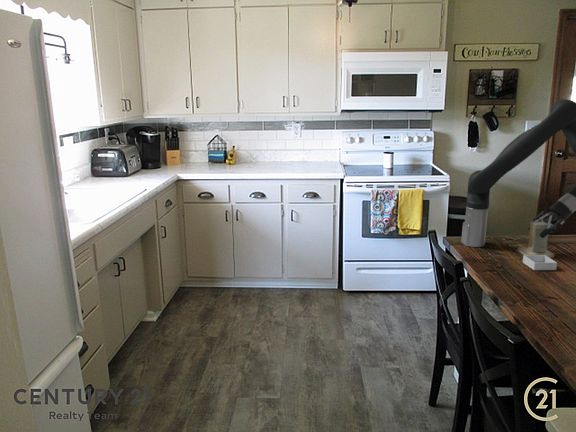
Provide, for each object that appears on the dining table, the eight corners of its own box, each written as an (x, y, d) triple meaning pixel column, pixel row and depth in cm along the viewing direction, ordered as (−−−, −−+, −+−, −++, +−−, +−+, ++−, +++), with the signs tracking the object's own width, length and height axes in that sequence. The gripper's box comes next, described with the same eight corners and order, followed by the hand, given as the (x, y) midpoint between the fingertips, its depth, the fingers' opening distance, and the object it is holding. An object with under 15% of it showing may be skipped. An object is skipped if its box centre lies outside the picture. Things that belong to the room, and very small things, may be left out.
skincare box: (541, 249, 209) (545, 221, 206) (546, 252, 205) (550, 224, 202) (526, 249, 209) (530, 221, 206) (531, 252, 205) (535, 224, 202)
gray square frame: (533, 270, 189) (534, 262, 189) (522, 262, 198) (523, 255, 197) (556, 269, 190) (557, 262, 189) (543, 261, 198) (544, 255, 197)
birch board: (528, 257, 203) (528, 254, 202) (517, 250, 212) (517, 247, 211) (553, 257, 203) (554, 254, 203) (542, 250, 212) (542, 247, 212)
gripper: (550, 196, 209) (520, 223, 211) (570, 204, 195) (539, 232, 197) (560, 208, 210) (531, 234, 213) (581, 217, 197) (550, 244, 199)
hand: (535, 233), depth 205 cm, fingers open, 8 cm apart
